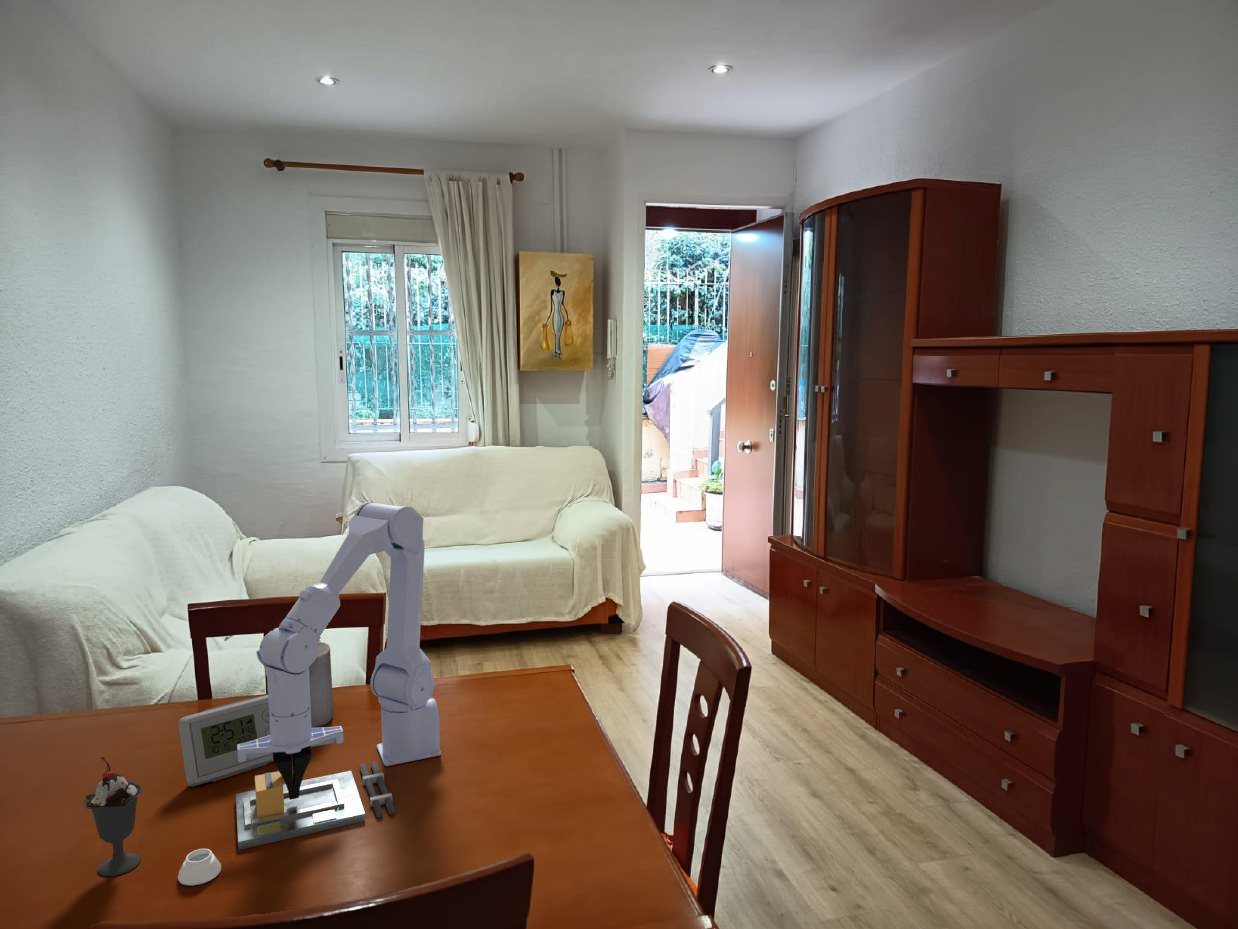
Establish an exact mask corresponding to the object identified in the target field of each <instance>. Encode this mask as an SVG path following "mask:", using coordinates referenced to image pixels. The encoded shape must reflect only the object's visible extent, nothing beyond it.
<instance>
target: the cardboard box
mask: <svg viewBox="0 0 1238 929" xmlns="http://www.w3.org/2000/svg"><path fill="white" fill-rule="evenodd" d="M283 784H284V782H283V777H282V775H281V774H280V772H279V771H278V770H277V771H270V772H265V773H263V774H258V775H254V788H255V789H254V790H256V807H257V818H262V817H267V816H272V815H276V814H281V813H284V794H283Z"/></svg>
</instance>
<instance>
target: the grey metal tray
mask: <svg viewBox="0 0 1238 929" xmlns="http://www.w3.org/2000/svg"><path fill="white" fill-rule="evenodd" d="M283 794H284V813H281V814H276V815H272V816H267V817H262V818H257V807H256V790H255V789H253V790H249V791H243V792H240V793H239V792H238V793H235V801H236V802H235V804H236V826H237V847H238V851H241V850H245V849H250V848H254V847H258V846H259V847H260V846H264V845H265V844H266V845H267V844H270V843H275V842H279V841H284V840H288V839H293V838H297V837H301V836H307V835H310V834H314V833H319V832H323V831H324V832H325V831H327V830H333V829H336V828H340V827H345V826H350V825H354V824H359V823H362V822H366V812H365V809H364V806H363V802H362V799H361V797H360V794H359V790H358V788H357V784H356V781H355V778H354V775H353V772H352V770H348V771H343V772H338V773H334V774H332V773H331V774H328V775H322V776H319V777H318V776H317V777H313V778H309V779H304V780H303V779H302V782H301V786H300V791H299V798H296V799H291V800H290V799H289V793H288V789H287V786H286V784H285V783H283Z"/></svg>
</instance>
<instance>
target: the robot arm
mask: <svg viewBox="0 0 1238 929" xmlns="http://www.w3.org/2000/svg"><path fill="white" fill-rule="evenodd" d="M423 532H424V517H422V515H421V514H420V513H419V512H418V511H417V510H416V509H415V508H414V507H412V506H408V505H407V506H406V505H405V506H404V505H403V506H400V505H395V504H394V505H393V504H385V503H379V502H376V501H364V502H363V503H362V504H360V505H359V506H358V508H357V509H356V511H355V512H354V514H353V516H352V517H351V518H350V519H349V521H348V534H347V535H346V536H345V538H344V541H343V542H342V543H341V545H340V547H339V549H338V551H337V552H336V554H335V555H334V556H333V557H334V558H333V559H332V561H331V562H330V564H329V565H328V568H327V569H326V571H325V572H324V574H323V576H322V578H321V579H320V580H319V582H318V583H314V584H309V585H307V586H306V588H305V589H302V590H301V591H300V593H299V595H298V596H297V597H298V599H297V600H296V602H295V604H294V605H293V606H292V608H291V609H290V611H289V612H288V613H287V614H286V616H285V618H284V619H282V621H281V622H280V623H279V626H278V627H275V628H273V630H270V631H269V632H268V633H267V634H265V636H263V638H262V640H261V642H260V645H259V649H258V650H257V651H256V656H257V657H256V658H257V660H258V661H259V663H261V664H262V666H263V667H264V673H265V674H264V675H265V676H266V679H267V680H266V681H267V695H268V704H269V724H270V735H268V736H265V737H262V738H259V739H256V740H253V741H250V742H246V743H242V744H237V750H238V762H243V761H246V759H248V758H254V757H259V756H264V755H270V754H273V764H274V766H275V767H276V769H277V771H279V772H280V774H281V776H282V780H283V781H284V784H286V786H287V789H288V793H289V799H290V800H291V799H296V798H299V791H300V786H301V782H302V780H303V778H304V775H305V773H306V770H307V768H308V766H309V764H310V763H311V760H312V756H313V753H312V748H313V747H317V746H322V745H328V744H333V743H334V744H337V745H338V744H339V745H340V744H342V743H344V730H343V726H342V725H337V726H328V727H313V728H311V707H310V684H309V667H310V665H311V664H312V663H313V662H314V661H315V659H316V656H317V652H318V644H319V642H321V638H322V637H321V635H322V634H323V632H324V631H325V629H326V628H327V626H328V625H329V623H330V622H331V620H332V619H333V617H334V616H335V614H336V613H337V612H338V610H339V608H340V607H341V600H340V593H341V592H342V591H343V589H344V588H345V587H346V586H347V585H348V583H349V582H350V580H351V579H352V578H353V577H354V575H355V574H356V573H357V571H359V569H360V567H362V565H363V563H365V562H366V560H367V559H368V557H370V556H371V555H372V554H373V555H374V554H377V553H382V552H385V553H386V554H387V555H388V556H389V558H390V571H389V590H388V607H387V608H388V611H387V628H386V629H387V630H386V633H387V634H386V648H384V650H382V651H381V652H380V653H379V654H378V655H377V656H376V657H375V665H374V669H373V672H372V674H371V678H370V682H369V683H370V684H369V685H370V690H371V692H372V694H373V695H375V696H376V697H377V700H378V702H377V703H378V704H380V707H381V708H380V709H381V710H380V711H381V717H380V719H381V743H378V744H376V748H377V750H378V753H379V756H380V759H381V761H382V764H383V765H384V766H385V767H390V766H394V765H398V764H399V765H400V764H405V763H409V762H415V761H419V760H423V759H428V758H433V757H438V756H441V754H442V753H441V748H440V745H441V742H440V739H441V738H440V715H439V714H440V713H439V708H438V705H437V704H438V703H437V701H436V699H435V698H434V697H432V695H433V693H434V690H435V689H434V687H435V679H434V677H433V673H432V662H431V659H429V657H428V656H427V655H426V653H425V652H424V651H423V650H422V649H421V647H420V644H421V643H420V642H421V626H422V625H421V624H422V609H423V608H422V605H423V604H422V602H423V587H424V586H423V585H424V568H425V567H424V566H425V542H424V537H423Z"/></svg>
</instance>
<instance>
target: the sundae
mask: <svg viewBox="0 0 1238 929" xmlns="http://www.w3.org/2000/svg"><path fill="white" fill-rule="evenodd" d="M100 759H101V760H102V761H104V762H105V764H106V770H105V771H104V772H103V773H102V774H101V777H102V779H101V780H100V782H99V783H98V784H97V787H96V788H95V790H94V791H92V792H90V793H89V794H87V795H85V798H84V803H83V804H84V807H85V808H86V809H89V810H91V812H92V814H93V819H94V823H95V826H96V830H97V832H98V833H97V834H98V835H99V836H98V837H99V838H100V840H102V841H103V842H105V843H108V844H111V846H112V851H113V852H112V856H111V857H109V858H108V859H106V860H104V861H103V862H102V863H101V864H100V865H99V866H98V867H97V873H98V874H99V875H100V876H102V877H106V876H111V877H117V876H121V875H123V874H126V873H129V872H131V871H133V870H134V869H135V868H136V867H138V865H139V864H140V862H141V856H140V855H139V854H136V853H125V850H124V841H125V840H126V839H127V838H128V837H129V836H130V835H131V833H132V832H133V831H134V828H135V824H136V817H137V816H136V814H137V803H138V797H139V796H140V794H141V793H142V792H143V790H144V787H143V786H141V785H140V784H139V783H137V782H134V781H127V780H126V778H125V777H124V776H122V774H118V773H115V772H114V771H113V770H111V766H110V763H109V762H108V761H107V760H106V759H105V757H104V756H103V755H102V756H101V757H100Z"/></svg>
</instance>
